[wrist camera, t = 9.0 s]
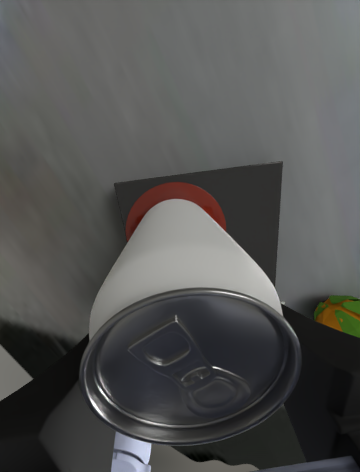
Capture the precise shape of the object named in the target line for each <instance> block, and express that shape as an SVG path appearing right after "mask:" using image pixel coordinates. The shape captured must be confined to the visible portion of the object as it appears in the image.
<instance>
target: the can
mask: <svg viewBox="0 0 360 472" xmlns="http://www.w3.org/2000/svg"><path fill="white" fill-rule="evenodd" d="M301 366H302V353H301V347H300V343H299V340H298V338H297V336H296V334H295V332H294V330H293V328H292V327H291V325H290V324H289V323H288V322H287V320H286V319H285V318H284V317H283V313H282V308H281V304H280V300H279V297H278V295H277V292H276V290H275V288H274V286H273V284H272V283H271V281H270V280H269V278H268V277H267V275H266V274H265V273H264V272H263V270H262V269H261V268H260V267H259V266H258V265H257V264H256V262H255V261H254V260H253V259H252V258H251V257H250V256H249V255H248V254H247V253H246V252H245V251H244V250H243V249H242V248H241V247H240V246H239V245H238V244H237V243H236V242H235V241H234V240H233V239H232V238H231V237H230V236H229V235H228V234H227V233H226V232H225V231H224V230H223V229H222V228H221V227H220V226H219V225H218V224H217V223H216V222H215V221H214V220H213V219H212V218H211V217H210V216H209V215H208V214H207V213H206V212H205V211H204V210H203V209H202V208H201V207H199V206H198V205H196V204H195V203H193V202H190V201H187V200H183V199H170V200H165V201H162V202H160V203H158V204H156V205H155V206H153V207H152V208H151V209H150V210H149V211H148V212H147V213H146V214H145V216H144V217H143V219H142V220H141V222H140V223H139V225H138V227H137V228H136V230H135V231H134V233H133V235H132V236H131V238H130V239H129V241H128V243H127V244H126V246H125V247H124V249H123V251H122V252H121V254H120V256H119V257H118V259H117V261H116V262H115V264H114V265H113V267H112V269H111V271H110V272H109V274H108V276H107V277H106V279H105V281H104V283H103V284H102V286H101V288H100V290H99V292H98V294H97V296H96V299H95V301H94V304H93V307H92V310H91V314H90V322H89V343H88V345H87V347H86V349H85V351H84V354H83V356H82V360H81V364H80V370H79V382H80V388H81V392H82V395H83V397H84V400H85V402H86V404H87V405H88V407H89V408H90V410H91V411H92V412H93V413H94V415H95V416H96V417H97V418H98V419H99V420H101V421H102V422H103V423H104V424H106V425H107V426H108V427H110V428H111V429H113V430H115V431H117V432H118V433H120V434H123V435H125V436H127V437H130V438H132V439H136V440H139V441H143V442H147V443H152V444H158V445H169V446H188V445H199V444H205V443H211V442H215V441H219V440H223V439H226V438H229V437H232V436H235V435H238V434H240V433H242V432H245V431H247V430H249V429H251V428H253V427H254V426H256V425H258V424H259V423H261V422H263V421H264V420H265V419H267V418H268V417H270V416H271V415H272V414H273V413H274V412H276V411H277V410H278V409H279V408H280V407H281V406H282V405H283V403H284V402H285V401H286V400H287V399H288V397H289V396H290V394H291V393H292V391H293V390H294V388H295V386H296V384H297V381H298V379H299V376H300V372H301Z"/></svg>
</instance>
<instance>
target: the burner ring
mask: <svg viewBox="0 0 360 472" xmlns="http://www.w3.org/2000/svg"><path fill="white" fill-rule="evenodd" d="M170 199H183V200H187V201H190V202H193V203H195V204H196V205H198V206H199V207H201V208H202V209H203V210H204V211H205V212H206V213H207V214H208V215H209V216H210V217H211V218H212V219H213V220H214V221H215V222H216V223H217V224H218V225H219V226H220V227H221V228H222V229H223V230H224V231H225V232H226V222H225V217H224V214H223V212H222V209H221V208H220V206H219V204H218V203H217V201H216V200H215V199H214V198H213V197H212V196H211V195H210V194H209V193H208V192H206V191H205V190H203V189H201V188H200V187H198V186H195V185H192V184H189V183H184V182H169V183H164V184H161V185H158V186H155V187H153V188H151V189H149V190H148V191H147V192H145V193H144V194H143V195H141V196H140V197H139V198H138V199H137V201H136V202H135V203H134V205H133V206H132V208H131V210H130V212H129V215H128V218H127V221H126V239H127V243H128V241H129V239H130V238H131V236H132V235H133V233H134V231H135V230H136V228H137V227H138V225H139V223H140V222H141V220H142V219H143V217H144V216H145V214H146V213H147V212H148V211H149V210H150V209H151V208H152V207H153V206H155V205H156V204H158V203H160V202H162V201H165V200H170Z"/></svg>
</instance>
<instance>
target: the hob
mask: <svg viewBox="0 0 360 472" xmlns="http://www.w3.org/2000/svg"><path fill="white" fill-rule="evenodd" d="M282 168H283V161H279V162H271V163H263V164H256V165H248V166H240V167H233V168H225V169H218V170H210V171H202V172H195V173H187V174H180V175H172V176H164V177H157V178H149V179H142V180H134V181H127V182H119V183H114V186H115V190H116V194H117V199H118V203H119V207H120V211H121V215H122V219H123V224H124V228H125V232H126V221H127V218H128V215H129V212H130V210H131V208H132V206H133V205H134V203H135V202H136V201H137V199H138V198H139V197H140V196H141V195H143V194H144V193H145V192H147V191H148V190H149V189H151V188H153V187H155V186H158V185H161V184H164V183H169V182H184V183H189V184H192V185H195V186H198V187H200V188H201V189H203V190H205V191H206V192H208V193H209V194H210V195H211V196H212V197H213V198H214V199H215V200H216V201H217V203H218V204H219V206H220V208H221V209H222V212H223V214H224V217H225V222H226V233H227V234H228V235H229V236H230V237H231V238H232V239H233V240H234V241H235V242H236V243H237V244H238V245H239V246H240V247H241V248H242V249H243V250H244V251H245V252H246V253H247V254H248V255H249V256H250V257H251V258H252V259H253V260H254V261H255V262H256V264H257V265H258V266H259V267H260V268H261V269H262V270H263V272H264V273H265V274H266V275H267V277H268V278H269V280H270V281H271V283H272V284H273V286H274V288H275V277H276V261H277V246H278V230H279V215H280V199H281V183H282ZM280 303H281V304H283V305H285V302H284V301H282V302H280Z"/></svg>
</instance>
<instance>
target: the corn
mask: <svg viewBox="0 0 360 472" xmlns="http://www.w3.org/2000/svg"><path fill="white" fill-rule="evenodd" d="M314 321H317V322H319V323H321V324H324V325H326V326H329V327H331V328H334V329H336V330H339V331H342V332H344V333H347V334H350V335H353V336H356V337H359V338H360V299H358V298H355V297H352V296H335V295H331V296H329V299H327V300H326V301H325V302H324V303H322V302H319V304H318V306H317V308H316V310H315V312H314Z"/></svg>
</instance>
